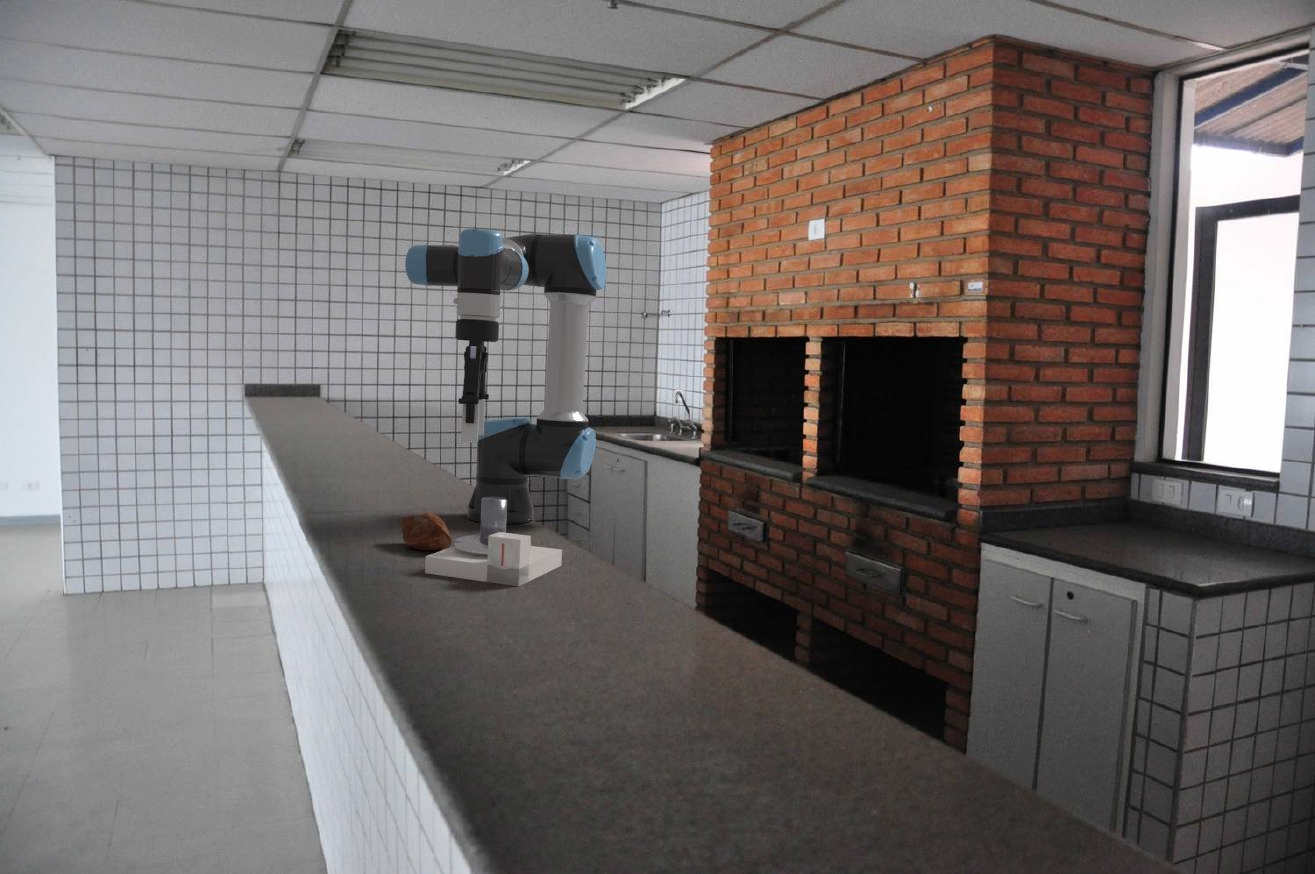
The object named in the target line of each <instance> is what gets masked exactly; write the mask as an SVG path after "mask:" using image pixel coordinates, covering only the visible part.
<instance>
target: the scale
mask: <svg viewBox="0 0 1315 874" xmlns="http://www.w3.org/2000/svg"><path fill="white" fill-rule="evenodd" d="M531 537H532V535H526V534H519V533H518V534H517V533H509V532H506V533H503V532H498V533H495V534H492V535H490V536H488V555H481V554H472V553H466V552H462V551H459V550H457V549H455V548H454V547H453V546H450V547H448V548H446V549H441V550H439V551H437V552H435V553H431V554H428V555H426V556H425V564H424V574H428V575H437V576H441V577H443V576H444V577H450V578H456V579H463V580H470V581H471V580H472V581H479V582H483V583H492V584H499V585H505V586H514V587H520V586H522V585H524V584H526V583H529V582H531V581H533V580H535V579H537V578H539V577H541V576H543V575H545V574H547V573H549V572H551V571H553V570H555V569H557V568H559V567H562V561H563V559H562V558H563V557H562V556H563V549H560V548H551V547H543V546H535V545H531V549H530V542H531V543H532V541H531Z"/></svg>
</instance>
